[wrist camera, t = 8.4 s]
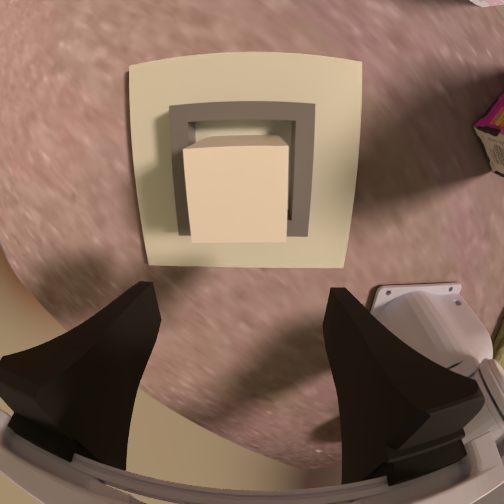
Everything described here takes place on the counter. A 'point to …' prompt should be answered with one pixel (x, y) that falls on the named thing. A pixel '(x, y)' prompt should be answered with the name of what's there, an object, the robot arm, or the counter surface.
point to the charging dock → (248, 123)
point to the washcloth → (499, 346)
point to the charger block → (237, 188)
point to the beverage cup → (487, 2)
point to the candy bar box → (493, 135)
